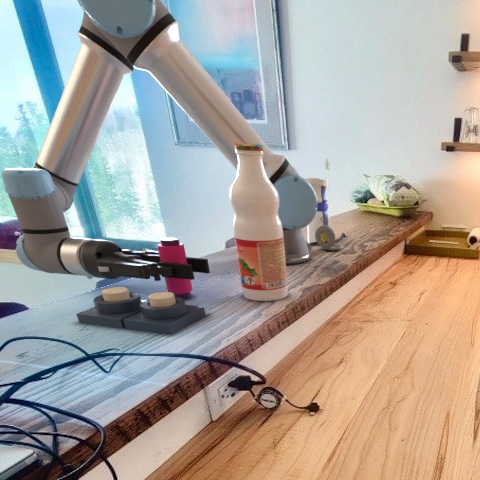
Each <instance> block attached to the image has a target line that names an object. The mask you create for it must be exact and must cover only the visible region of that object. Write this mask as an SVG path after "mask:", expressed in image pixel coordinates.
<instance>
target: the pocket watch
mask: <svg viewBox="0 0 480 480" xmlns="http://www.w3.org/2000/svg"><path fill="white" fill-rule="evenodd" d="M322 218H326V217H322ZM322 218H321V219H322ZM326 219H327V218H326ZM321 221H322V220H321ZM322 222H323V223H324V225H322V226H320V227H319V228H318V229H317V230H316V233H315V238H316V241H317V243H318V244H319V245H318V246H319V247H320V249H321V250H324V251H329V252H335V251H339V250H342V248H343V247H342V246H343V245H340V244H335V240H336V239H337V238H336V233H335V231H334V230H333V228H331V227H330V225H329V226H326V223H327V222H328V219H327V222H326V220H324V221H322ZM321 235H322V237H321ZM326 240H327V241H328V240H329V242H328V243H324V242H325V241H326Z"/></svg>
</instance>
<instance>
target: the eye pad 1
mask: <svg viewBox="0 0 480 480" xmlns="http://www.w3.org/2000/svg"><path fill="white" fill-rule="evenodd" d="M129 292H130V291H129V288H128V287H125V286H112V287H107V288H104V289H102V290H101V295H103V298H104V301H108V302H114V301H123V300H127V299H130V294H129Z"/></svg>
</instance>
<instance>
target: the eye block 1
mask: <svg viewBox="0 0 480 480" xmlns="http://www.w3.org/2000/svg"><path fill="white" fill-rule="evenodd" d="M129 294H130V299H127V300H123V301H114V302H108V301H104V298H103V295H102V294H100V295H97V296H95V297H94V299H93V300H92V301H93V304H94V306H93V307H90V308H88V309H85V310H82V311H79V312H77V313H76V317H77V320H78V323H79V324H84V325H92V326H101V327H109V328H115V329H116V328H117V329H126V327H125V324H124V321H123V319H126V318H128V317H130V316H132V315H135V314H137V313H139V312H141V308H140V305H141V303H142V302H144V301H146V300H147V299H142V297H141V295H140V294H139V293H137V292H133V291H129Z"/></svg>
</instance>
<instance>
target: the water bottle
mask: <svg viewBox="0 0 480 480" xmlns="http://www.w3.org/2000/svg"><path fill="white" fill-rule="evenodd" d="M324 164H325V171H327V170H328V171H330V165H331V162H330V161H329V160H328V158H326V159H325V162H324ZM303 178H304V179H305V180H306V181H308V182H309V183H310V184H311V186H312V187H313V189H314V191H315V193H316V196H317V202H318V206H317V212H316V215H315V217H314V219H313V220H312V221H311V223H310V224H309V225H307V226H306V227H307V244H308V243H311V242H317V241H316V238H315V233H316V230H317V229H318V228H319V227H320V226H322V225H324V223H323V222H322V221H324V220H326V222H327V219H328V222H327V223H326V226H329V227H330V214H329V211H328V209H329V202H328V201H329V199H328V197H327V191H329V190H330V188H329V178H326V179H320V178H318V177H303ZM322 217H326V218H327V219H326V218H322ZM321 218H322V219H321ZM321 220H322V221H321ZM321 237H322V235H321ZM326 241H327V240H326ZM328 241H329V240H328Z"/></svg>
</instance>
